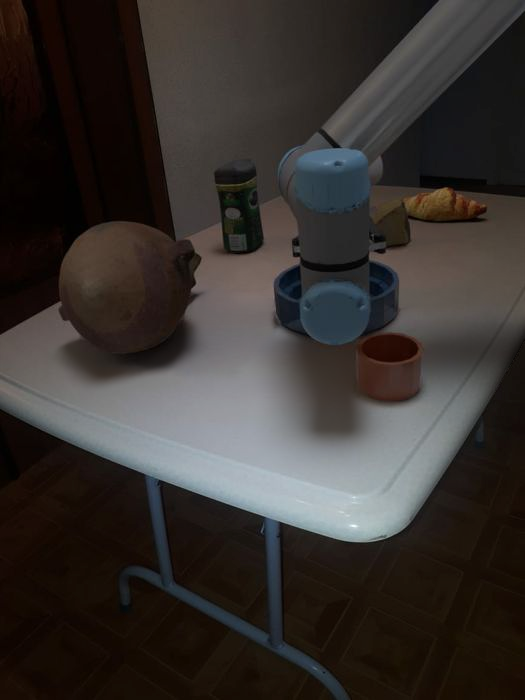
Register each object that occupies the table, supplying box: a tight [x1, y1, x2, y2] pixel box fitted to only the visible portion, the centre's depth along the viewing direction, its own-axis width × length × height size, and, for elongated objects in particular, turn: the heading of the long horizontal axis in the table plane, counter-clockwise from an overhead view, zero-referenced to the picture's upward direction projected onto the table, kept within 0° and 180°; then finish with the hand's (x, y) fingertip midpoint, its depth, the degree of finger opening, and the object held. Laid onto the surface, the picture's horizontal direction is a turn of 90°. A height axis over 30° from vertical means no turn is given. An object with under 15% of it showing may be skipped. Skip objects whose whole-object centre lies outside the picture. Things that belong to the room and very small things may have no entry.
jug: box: [58, 220, 203, 354], centre depth 89 cm, size 20×20×30 cm
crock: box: [355, 331, 425, 402], centre depth 70 cm, size 8×8×6 cm
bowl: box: [273, 259, 400, 336], centre depth 90 cm, size 20×20×6 cm
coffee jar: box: [213, 158, 265, 254], centre depth 120 cm, size 10×8×19 cm
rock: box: [372, 198, 412, 247], centre depth 117 cm, size 11×9×10 cm
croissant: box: [403, 186, 488, 222], centre depth 129 cm, size 21×10×8 cm, turn 59°
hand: (340, 211), depth 91 cm, fingers closed on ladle, 2 cm apart
